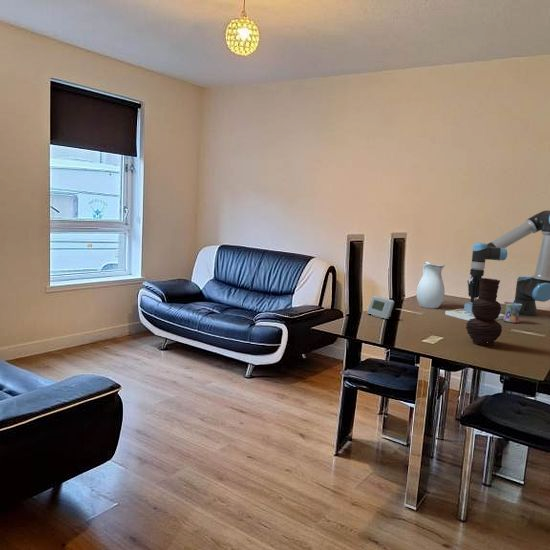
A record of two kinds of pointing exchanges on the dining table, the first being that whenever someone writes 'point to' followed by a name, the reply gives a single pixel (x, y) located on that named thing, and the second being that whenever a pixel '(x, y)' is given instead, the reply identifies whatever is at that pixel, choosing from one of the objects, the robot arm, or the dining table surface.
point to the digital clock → (380, 307)
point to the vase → (485, 314)
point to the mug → (512, 312)
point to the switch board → (465, 314)
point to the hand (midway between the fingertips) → (472, 307)
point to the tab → (468, 306)
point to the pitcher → (431, 286)
